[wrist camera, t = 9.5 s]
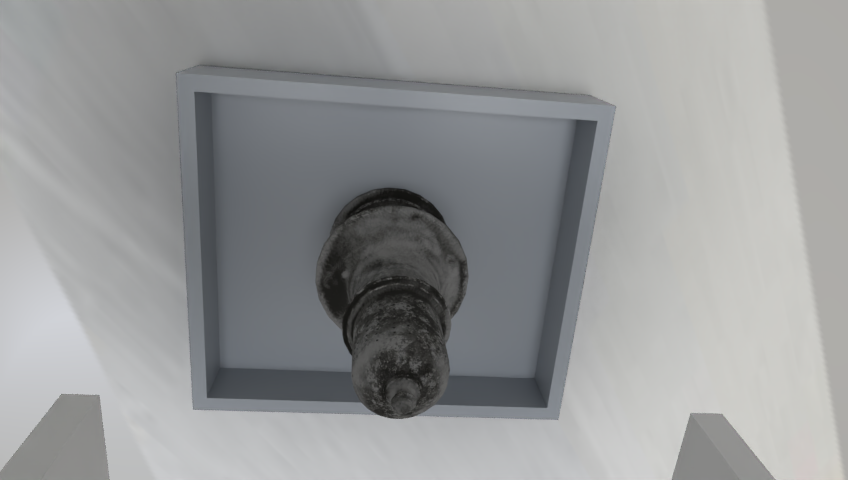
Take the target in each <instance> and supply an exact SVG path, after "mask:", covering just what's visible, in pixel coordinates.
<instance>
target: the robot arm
mask: <svg viewBox="0 0 848 480" xmlns="http://www.w3.org/2000/svg"><path fill="white" fill-rule="evenodd" d="M0 480H110V479H109V471H108V464H107V455H106V446H105V438H104V430H103V422H102V413H101V405H100V397H99V395H78V394H75V395H74V394H61V395H60V397H59V398H58V399H57V401H56V402H55V403H54V404H53V405H52V407H51V408H50V409H49V411H48V412H47V413H46V414H45V416H44V417H43V418H42V419H41V421H40V422H39V423H38V425H37V426H36V427H35V428H34V430H33V431H32V432H31V433H30V435H29V436H28V437H27V438H26V440H25V441H24V443H22V445H21V446H20V447H19V449H18V450H17V451H16V452H15V454H14V455H13V456H12V458H11V459H10V460H9V461H8V463H7V464H6V465H5V466H4V468H3V469H2V470H1V472H0ZM672 480H775V479H774V477H773V476H772V475H771V474H770V472H769V471H768V470H767V469H766V467H765V466H764V465H763V464H762V463H761V461H760V460H759V459H758V458H757V456H756V455H755V454H754V453H753V451H752V450H751V449H750V448H749V446H748V445H747V444H746V443H745V442H744V440H743V439H742V438H741V437H740V435H739V434H738V433H737V432H736V430H735V429H734V428H733V427H732V425H731V424H730V423H729V422H728V421H727V419H726V418H725V417H724V416H723V414H707V413H690V417H689V421H688V424H687V428H686V431H685V435H684V438H683V442H682V445H681V449H680V452H679V456H678V459H677V463H676V466H675V470H674V473H673V477H672Z"/></svg>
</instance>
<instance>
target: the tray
mask: <svg viewBox="0 0 848 480" xmlns="http://www.w3.org/2000/svg"><path fill="white" fill-rule="evenodd" d="M176 84H177V104H178V123H179V143H180V163H181V183H182V202H183V222H184V242H185V262H186V282H187V301H188V321H189V341H190V361H191V380H192V400H193V410H227V411H263V412H299V413H335V414H371V415H377V414H376V413H374V412H372V411H370V410H369V409H367V408H366V407H365V406H364V405H363V404H362V403H361V402H360V400H359V398H358V396H357V394H356V392H355V390H354V387H353V383H352V377H351V369H352V355H351V354H350V353H349V351H348V349H347V347H346V345H345V344H344V340H343V335H342V330H341V329H340V328H339V327H338V326H337V325H336V324H335V323H334V322H333V321H332V320H331V319H330V318H329V317H328V315H327V314H326V312H325V310H324V308H323V306H322V304H321V302H320V300H319V297H318V292H317V288H316V283H315V278H316V266H317V261H318V258H319V255H320V253H321V250H322V248H323V245H324V243H325V242H326V241H327V239H328V238H329V237H330V231H331V229H332V226H333V224H334V221H335V219H336V217H337V216H338V214H339V213H340V212H341V210H342V209H343V208H344V206H346V205H347V204H348V203H349V202H351V201H352V200H353V199H355V198H356V197H357V196H359V195H361V194H364V193H366V192H369V191H371V190H375V189H381V188H388V187H389V188H399V189H406V190H409V191H411V192H414V193H417V194H419V195H421V196H422V197H424V198H425V199H427V200H428V201H429V202H431V203H432V204H433V205H434V206H435V207H436V209H437V210H438V211H439V212H440V213H441V215H442V216H443V218H444V221H445V223H446V225H447V226H448V227H449V229H450V230H451V231H452V232H453V234H454V235H455V236H456V237H457V238H458V240H459V241H460V244H461V246H462V248H463V251H464V253H465V256H466V258H467V265H468V274H469V278H468V284H467V290H466V295H465V297H464V299H463V301H462V304H461V306H460V308H459V310H458V312H457V313H456V314H455V315H454V316H453V318H452V319H451V324H452V325H451V331H450V336H449V339H448V341H447V343H446V349H447V354H448V358H449V366H450V373H449V379H448V384H447V387H446V389H445V391H444V393H443V395H442V397H441V398H440V399H439V400H438V402H437V403H436V404H435V405H434V406H432V407H431V408H429V409H428V410H427V411H425V412H423V413H421V414H418V415H416V416H443V417H479V418H515V419H551V420H558V418H559V413H560V408H561V402H562V397H563V391H564V386H565V380H566V375H567V369H568V364H569V359H570V353H571V348H572V342H573V337H574V331H575V326H576V321H577V315H578V310H579V304H580V299H581V293H582V288H583V283H584V277H585V272H586V266H587V261H588V255H589V250H590V245H591V239H592V234H593V228H594V223H595V217H596V212H597V207H598V201H599V196H600V190H601V185H602V179H603V174H604V169H605V163H606V158H607V152H608V147H609V141H610V136H611V131H612V125H613V120H614V114H615V109H616V106H615V105H612V104H610V103H607V102H605V101H603V100H600V99H598V98H596V97H593V96H591V95H578V94H565V93H552V92H539V91H526V90H513V89H500V88H487V87H474V86H461V85H448V84H435V83H422V82H409V81H396V80H383V79H370V78H357V77H344V76H331V75H318V74H305V73H292V72H279V71H266V70H253V69H240V68H227V67H214V66H201V65H198V66H195V67H192V68H189V69H186V70H183V71H180V72H177V73H176Z"/></svg>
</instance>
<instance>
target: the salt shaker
mask: <svg viewBox="0 0 848 480" xmlns="http://www.w3.org/2000/svg"><path fill="white" fill-rule="evenodd" d="M468 278H469V274H468V265H467V258H466V256H465V253H464V251H463V248H462V246H461V244H460V241H459V240H458V238H457V237H456V236H455V235H454V234H453V232H452V231H451V230H450V229H449V227H448V226H447V225H446V223H445V221H444V218H443V216H442V215H441V213H440V212H439V211H438V210H437V209H436V207H435V206H434V205H433V204H432V203H431V202H429V201H428V200H427V199H425V198H424V197H422V196H421V195H419V194H417V193H414V192H411V191H409V190H406V189H399V188H389V187H388V188H381V189H375V190H371V191H369V192H366V193H364V194H361V195H359V196H357V197H356V198H355V199H353V200H352V201H351V202H349V203H348V204H347V205H346V206H344V208H343V209H342V210H341V212H340V213H339V214H338V216H337V217H336V219H335V221H334V224H333V226H332V229H331V231H330V237H329V238H328V239H327V241H326V242H325V243H324V245H323V248H322V250H321V253H320V255H319V258H318V261H317V266H316V278H315V283H316V288H317V292H318V297H319V300H320V302H321V304H322V306H323V308H324V310H325V312H326V314H327V315H328V317H329V318H330V319H331V320H332V321H333V322H334V323H335V324H336V325H337V326H338V327H339V328H340V329H341V330H342V335H343V340H344V344H345V345H346V347H347V349H348V351H349V353H350V354H351V355H352V369H351V377H352V383H353V387H354V390H355V392H356V394H357V396H358V398H359V400H360V402H361V403H362V404H363V405H364V406H365V407H366V408H367V409H369V410H370V411H372V412H374V413H376V414H377V415H380V416H384V417H387V418H395V419H403V418H409V417H413V416H416V415H418V414H421V413H423V412H425V411H427V410H428V409H429V408H431V407H432V406H434V405H435V404H436V403H437V402H438V400H439V399H440V398H441V397H442V395H443V393H444V391H445V389H446V387H447V384H448V379H449V373H450V366H449V358H448V354H447V349H446V343H447V341H448V339H449V336H450V331H451V325H452V324H451V319H452V318H453V316H454V315H455V314H456V313H457V312H458V310H459V308H460V306H461V304H462V301H463V299H464V297H465V295H466V290H467V284H468Z"/></svg>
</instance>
